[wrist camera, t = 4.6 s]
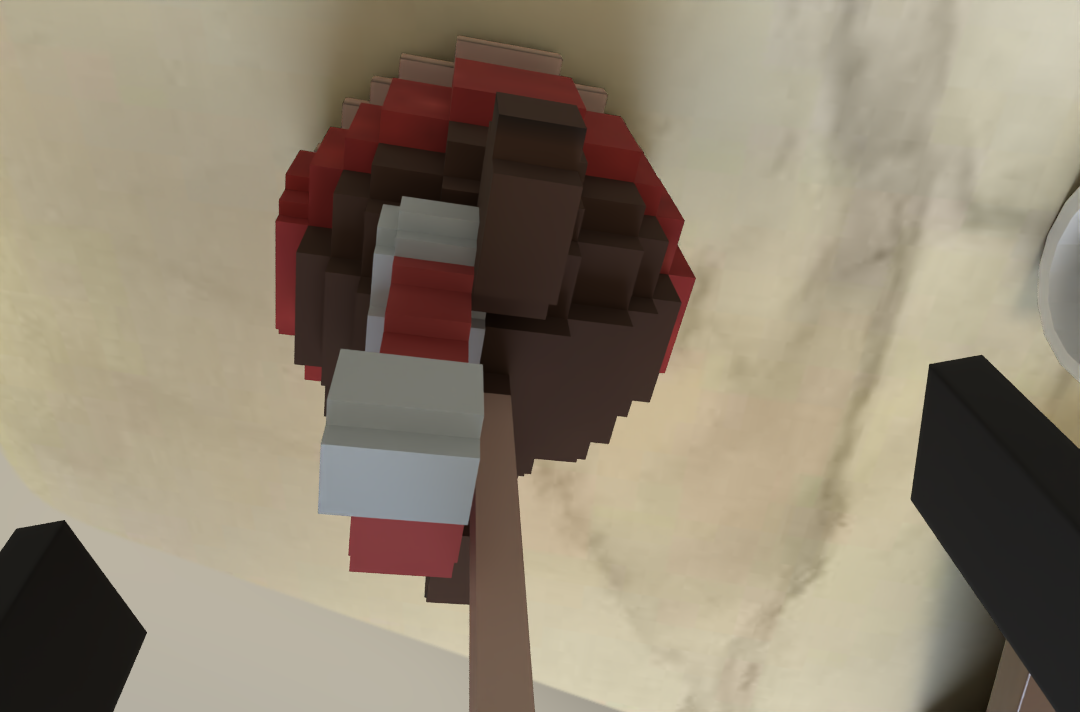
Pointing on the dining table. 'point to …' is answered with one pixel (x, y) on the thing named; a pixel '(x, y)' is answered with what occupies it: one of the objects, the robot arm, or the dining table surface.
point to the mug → (1062, 286)
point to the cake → (472, 316)
